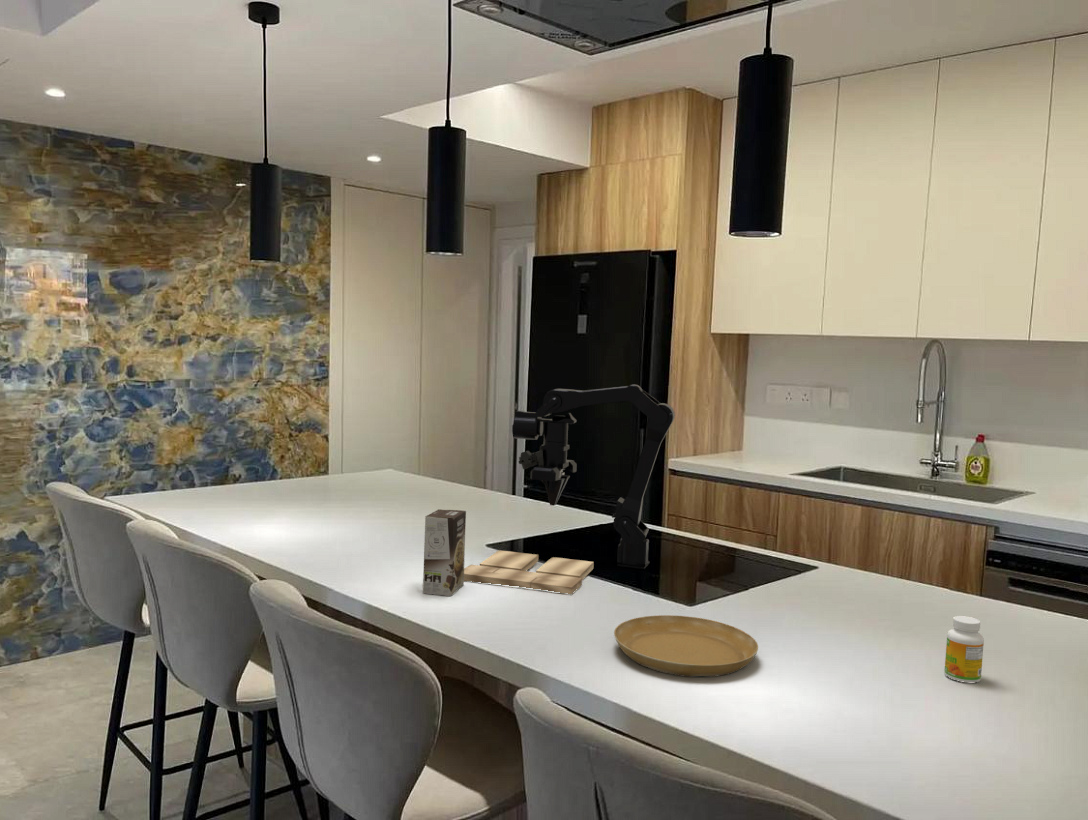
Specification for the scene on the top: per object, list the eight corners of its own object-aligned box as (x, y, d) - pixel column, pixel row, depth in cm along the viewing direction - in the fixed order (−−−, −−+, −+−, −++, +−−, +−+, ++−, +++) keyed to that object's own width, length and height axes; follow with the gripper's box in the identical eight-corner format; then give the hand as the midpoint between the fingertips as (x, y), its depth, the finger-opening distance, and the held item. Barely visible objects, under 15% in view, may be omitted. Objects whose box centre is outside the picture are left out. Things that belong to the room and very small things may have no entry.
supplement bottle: (937, 671, 143) (941, 614, 143) (968, 671, 144) (972, 614, 143) (955, 684, 138) (960, 624, 137) (987, 684, 139) (992, 624, 138)
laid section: (581, 585, 187) (582, 577, 187) (571, 595, 180) (571, 587, 180) (470, 571, 195) (471, 564, 195) (456, 580, 188) (456, 572, 188)
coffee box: (451, 596, 175) (454, 518, 174) (421, 593, 177) (423, 515, 175) (464, 585, 184) (467, 510, 183) (436, 582, 186) (438, 507, 184)
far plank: (538, 561, 204) (538, 554, 204) (520, 575, 193) (521, 568, 193) (498, 556, 208) (498, 550, 207) (479, 570, 196) (479, 563, 196)
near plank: (593, 568, 200) (593, 561, 200) (579, 583, 189) (579, 576, 189) (552, 563, 203) (552, 557, 203) (535, 577, 192) (536, 570, 192)
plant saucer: (785, 677, 139) (786, 657, 139) (647, 689, 132) (648, 668, 132) (714, 629, 162) (715, 611, 162) (593, 636, 155) (594, 618, 155)
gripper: (536, 435, 220) (534, 496, 221) (510, 442, 202) (508, 508, 204) (578, 438, 217) (575, 500, 218) (556, 445, 199) (553, 512, 200)
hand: (553, 505), depth 210 cm, fingers closed
